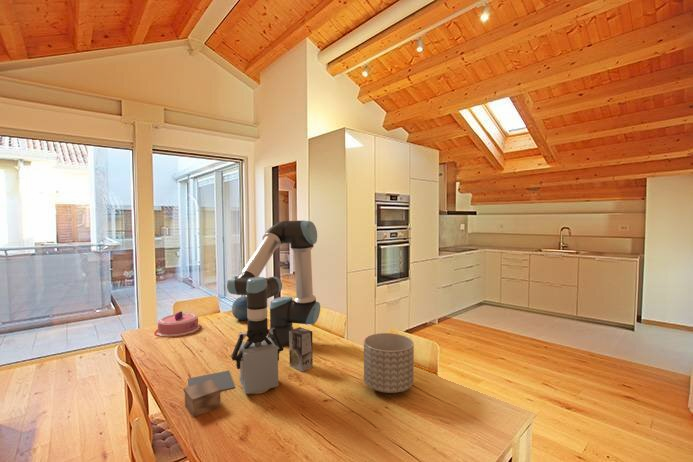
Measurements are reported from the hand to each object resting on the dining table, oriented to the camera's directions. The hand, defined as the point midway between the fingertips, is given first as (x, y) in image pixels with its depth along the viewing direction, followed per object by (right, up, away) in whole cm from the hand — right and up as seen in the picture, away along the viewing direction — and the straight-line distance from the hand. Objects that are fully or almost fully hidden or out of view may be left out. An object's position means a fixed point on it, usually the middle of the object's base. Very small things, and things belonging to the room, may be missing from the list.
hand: (258, 372), depth 129 cm
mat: (-20, -6, +3) cm, 21 cm away
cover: (0, -4, 0) cm, 4 cm away
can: (0, -6, 0) cm, 6 cm away
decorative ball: (-32, -3, +87) cm, 93 cm away
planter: (+50, -6, 0) cm, 51 cm away
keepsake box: (-16, -6, -13) cm, 21 cm away
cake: (-65, -4, +67) cm, 93 cm away
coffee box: (+14, -5, +18) cm, 24 cm away
